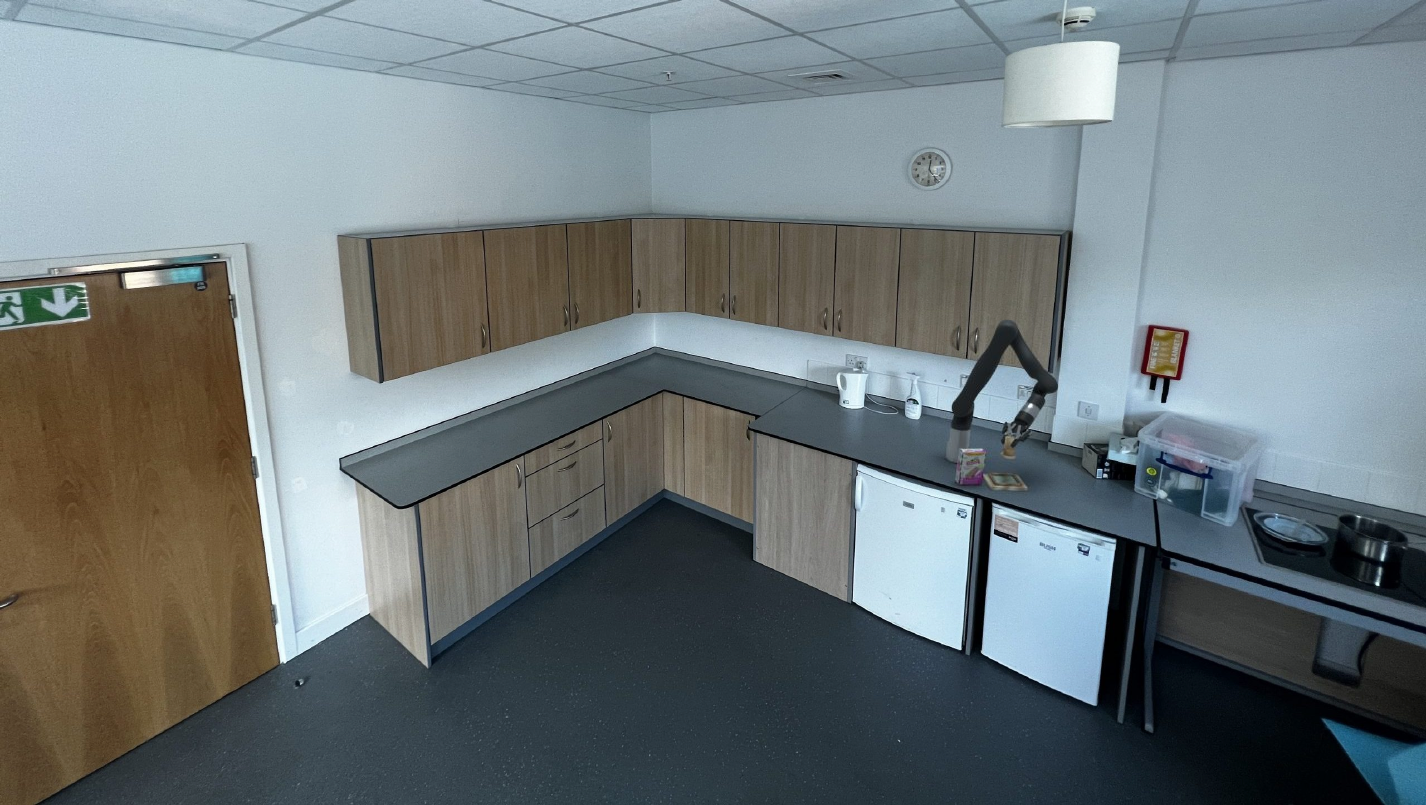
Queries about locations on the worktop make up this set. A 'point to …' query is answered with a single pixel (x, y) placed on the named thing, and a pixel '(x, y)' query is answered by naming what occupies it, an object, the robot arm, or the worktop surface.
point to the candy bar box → (970, 466)
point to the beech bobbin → (1008, 448)
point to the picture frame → (1004, 481)
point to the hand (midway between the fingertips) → (1007, 444)
